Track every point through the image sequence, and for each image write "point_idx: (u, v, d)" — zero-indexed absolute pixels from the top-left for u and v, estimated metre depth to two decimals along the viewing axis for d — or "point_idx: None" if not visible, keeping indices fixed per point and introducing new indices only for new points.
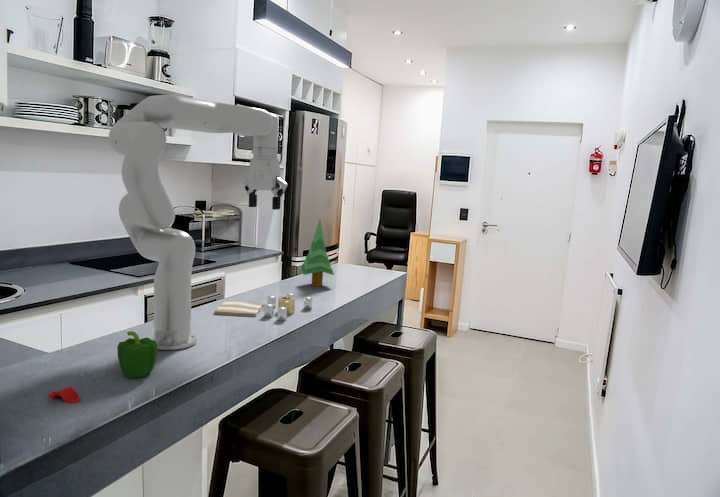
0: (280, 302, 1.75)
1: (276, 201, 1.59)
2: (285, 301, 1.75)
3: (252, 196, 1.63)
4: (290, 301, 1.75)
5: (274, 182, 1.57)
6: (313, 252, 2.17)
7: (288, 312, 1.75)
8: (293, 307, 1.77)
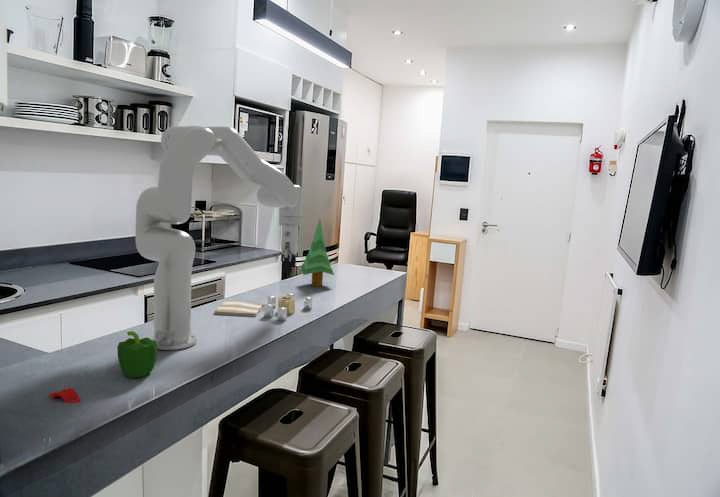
0: (280, 302, 1.75)
1: None
2: (285, 301, 1.75)
3: None
4: (290, 301, 1.75)
5: None
6: (313, 252, 2.17)
7: (288, 312, 1.75)
8: (293, 307, 1.77)
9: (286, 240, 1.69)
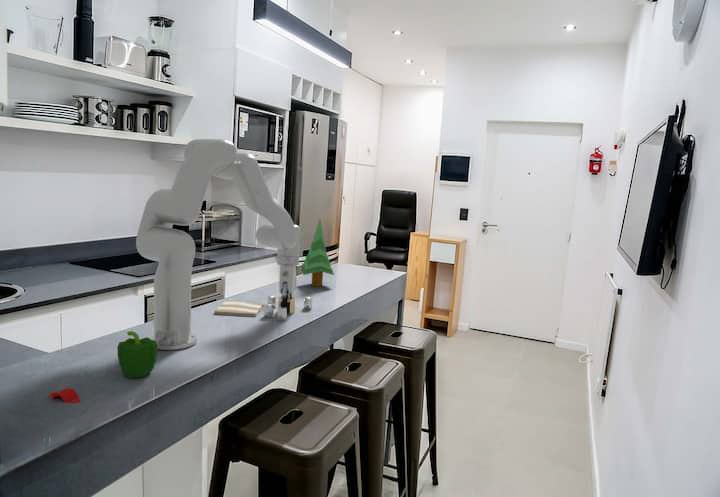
0: (280, 302, 1.75)
1: None
2: None
3: None
4: (290, 301, 1.75)
5: None
6: (313, 252, 2.17)
7: None
8: (293, 307, 1.77)
9: (284, 280, 1.71)
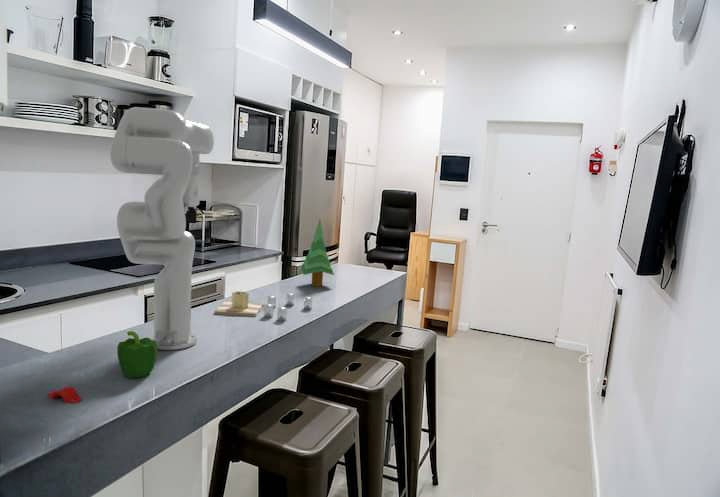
0: (233, 297, 1.74)
1: None
2: (238, 296, 1.73)
3: None
4: (243, 296, 1.74)
5: None
6: (313, 252, 2.17)
7: (241, 307, 1.74)
8: (247, 302, 1.75)
9: None
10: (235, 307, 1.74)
